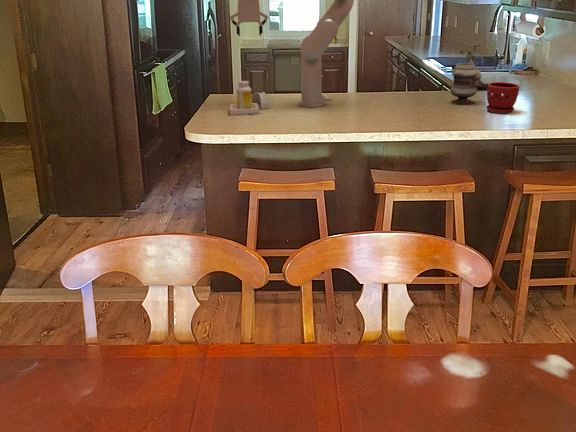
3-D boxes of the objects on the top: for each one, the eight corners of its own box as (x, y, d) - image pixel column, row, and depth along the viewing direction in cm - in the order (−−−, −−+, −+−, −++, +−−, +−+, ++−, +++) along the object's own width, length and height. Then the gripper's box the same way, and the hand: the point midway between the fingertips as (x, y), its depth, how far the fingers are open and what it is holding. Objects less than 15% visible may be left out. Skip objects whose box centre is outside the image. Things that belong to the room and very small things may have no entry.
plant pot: (484, 113, 267) (486, 85, 263) (486, 108, 278) (488, 81, 274) (516, 115, 262) (519, 87, 258) (516, 109, 274) (519, 82, 270)
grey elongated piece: (240, 102, 305) (239, 87, 302) (262, 100, 308) (262, 85, 306) (254, 110, 284) (253, 95, 281) (278, 108, 287) (277, 93, 285)
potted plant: (463, 96, 321) (455, 48, 318) (454, 99, 339) (446, 54, 337) (501, 89, 320) (493, 40, 318) (489, 92, 339) (482, 46, 336)
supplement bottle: (255, 109, 281) (253, 80, 276) (247, 112, 275) (246, 83, 271) (242, 108, 283) (240, 80, 279) (234, 111, 278) (233, 82, 273)
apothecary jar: (447, 104, 288) (450, 65, 282) (451, 100, 299) (454, 62, 292) (474, 105, 284) (477, 65, 277) (477, 101, 294) (480, 62, 288)
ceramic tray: (258, 109, 286) (258, 103, 285) (259, 114, 274) (259, 108, 273) (230, 109, 285) (229, 104, 284) (229, 115, 273) (229, 109, 272)
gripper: (267, -5, 279) (268, 34, 285) (228, -4, 278) (230, 35, 284) (267, -5, 272) (269, 35, 278) (228, -4, 271) (230, 36, 277)
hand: (249, 35), depth 281 cm, fingers open, 9 cm apart
